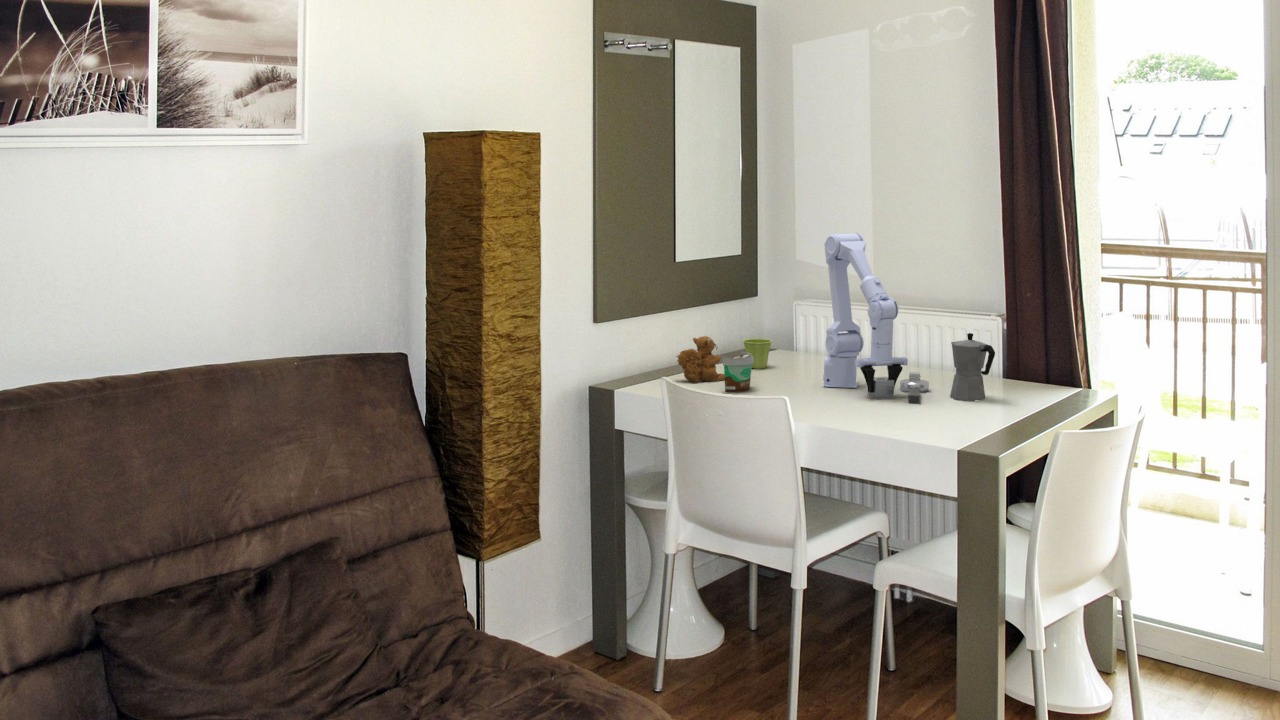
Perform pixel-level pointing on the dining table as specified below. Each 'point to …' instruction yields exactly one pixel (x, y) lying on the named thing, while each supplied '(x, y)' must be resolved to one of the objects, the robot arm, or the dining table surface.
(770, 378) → the dining table surface
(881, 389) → the grey cube
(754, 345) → the plant pot
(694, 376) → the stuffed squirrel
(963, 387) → the coffeepot
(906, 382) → the ratchet
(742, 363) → the food container
